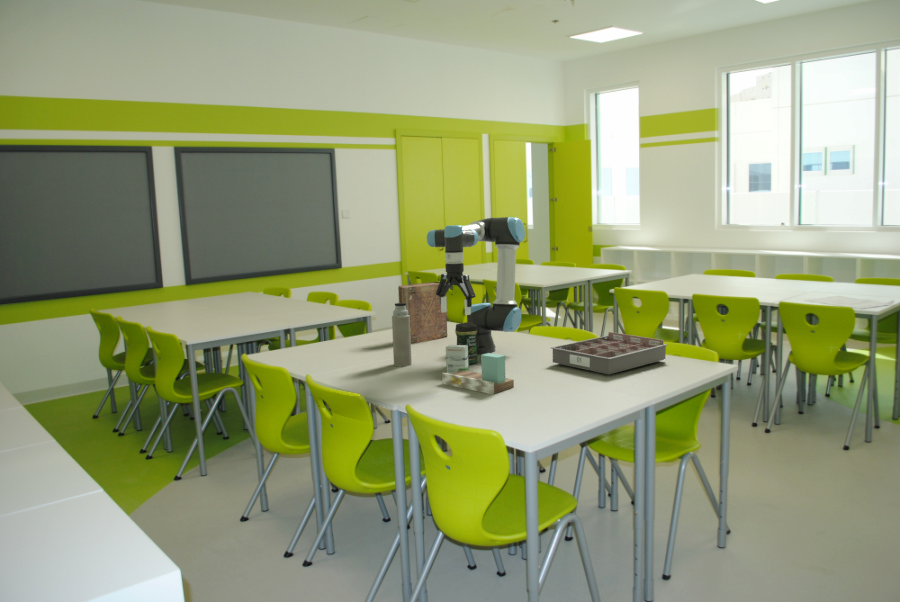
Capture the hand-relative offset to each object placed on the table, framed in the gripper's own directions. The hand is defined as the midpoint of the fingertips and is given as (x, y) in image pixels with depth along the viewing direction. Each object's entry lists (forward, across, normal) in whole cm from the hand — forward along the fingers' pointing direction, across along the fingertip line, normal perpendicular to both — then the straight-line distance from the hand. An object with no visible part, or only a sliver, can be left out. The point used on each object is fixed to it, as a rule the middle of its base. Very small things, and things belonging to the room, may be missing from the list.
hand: (455, 313), depth 276 cm
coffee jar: (+26, -9, +16) cm, 32 cm away
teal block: (+22, +28, -10) cm, 37 cm away
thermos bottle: (+26, -31, -3) cm, 40 cm away
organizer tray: (+26, +42, +52) cm, 72 cm away
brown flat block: (+26, +20, -10) cm, 34 cm away
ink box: (+26, 0, 0) cm, 26 cm away
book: (+26, -66, +45) cm, 84 cm away
